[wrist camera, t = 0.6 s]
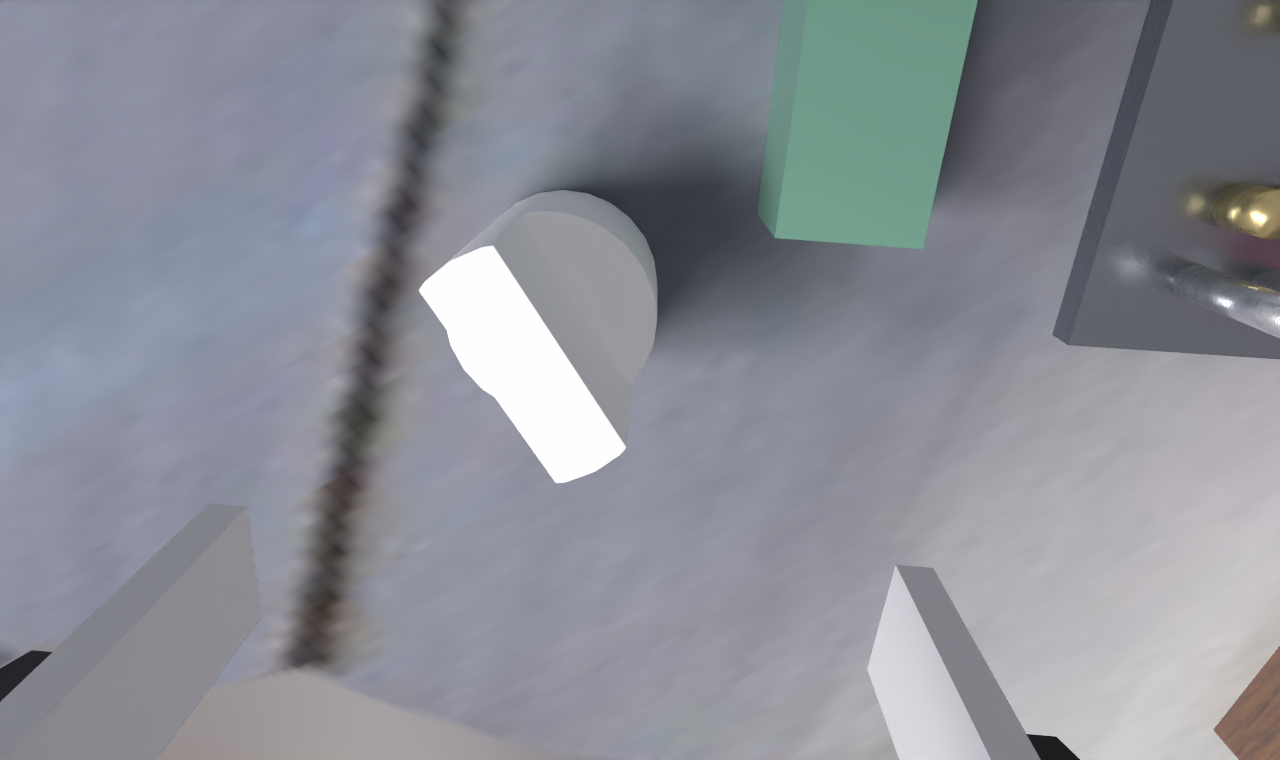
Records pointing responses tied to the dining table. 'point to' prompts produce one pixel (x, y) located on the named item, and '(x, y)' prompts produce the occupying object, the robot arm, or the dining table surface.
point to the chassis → (1188, 192)
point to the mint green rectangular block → (861, 118)
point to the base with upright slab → (554, 322)
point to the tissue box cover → (1255, 717)
